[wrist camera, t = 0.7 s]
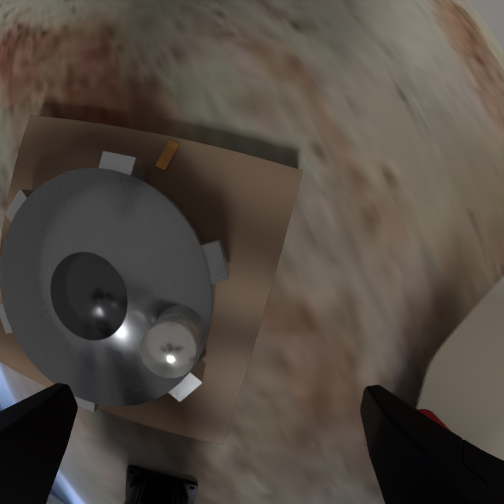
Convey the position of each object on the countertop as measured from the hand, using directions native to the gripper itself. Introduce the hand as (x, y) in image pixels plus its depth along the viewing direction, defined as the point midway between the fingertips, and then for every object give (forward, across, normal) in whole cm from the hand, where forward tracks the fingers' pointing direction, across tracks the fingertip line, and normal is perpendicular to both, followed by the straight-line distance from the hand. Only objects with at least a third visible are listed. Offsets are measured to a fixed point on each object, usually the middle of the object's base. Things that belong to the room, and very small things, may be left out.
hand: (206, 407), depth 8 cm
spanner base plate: (+12, +8, 0) cm, 15 cm away
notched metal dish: (+11, +8, 0) cm, 13 cm away
